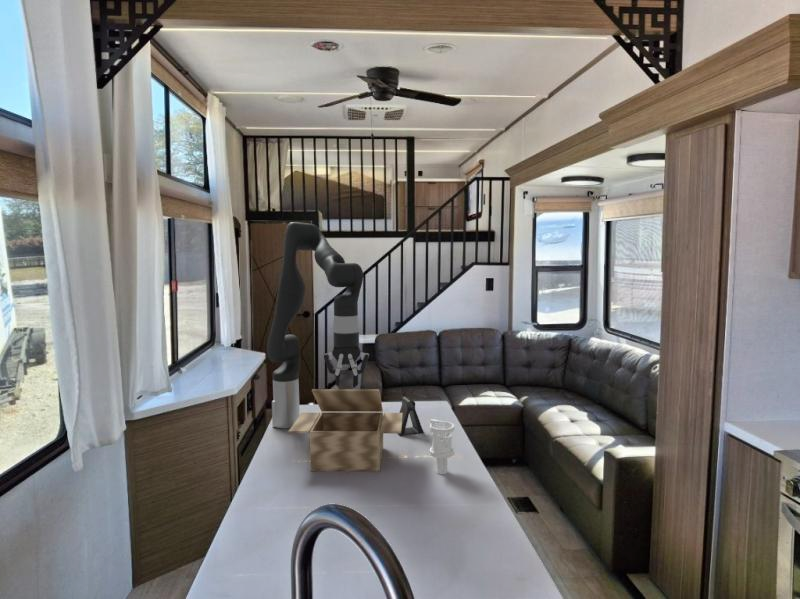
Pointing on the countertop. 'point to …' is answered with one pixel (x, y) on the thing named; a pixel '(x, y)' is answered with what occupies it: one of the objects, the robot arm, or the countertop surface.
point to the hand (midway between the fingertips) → (347, 386)
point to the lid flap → (348, 397)
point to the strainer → (441, 444)
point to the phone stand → (407, 409)
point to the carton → (347, 438)
